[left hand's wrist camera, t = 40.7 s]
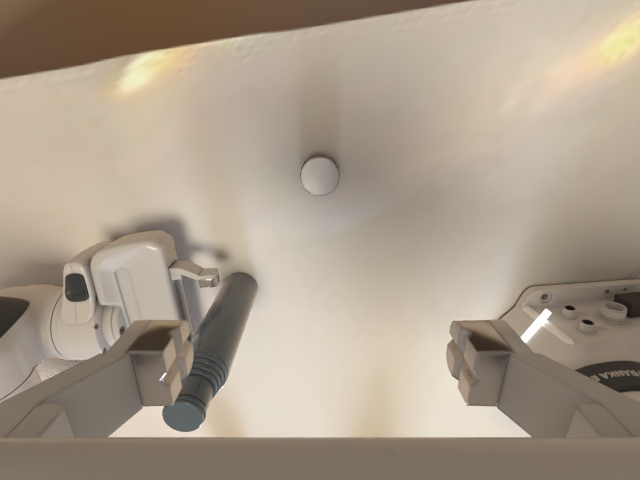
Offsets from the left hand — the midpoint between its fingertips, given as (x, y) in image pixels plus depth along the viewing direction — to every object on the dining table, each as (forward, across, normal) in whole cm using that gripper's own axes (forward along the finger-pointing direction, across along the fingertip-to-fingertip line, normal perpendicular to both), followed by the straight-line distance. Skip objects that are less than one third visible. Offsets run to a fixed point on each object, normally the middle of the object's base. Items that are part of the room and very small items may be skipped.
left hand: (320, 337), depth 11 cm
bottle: (+31, +10, +15) cm, 36 cm away
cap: (+29, 0, 0) cm, 29 cm away
